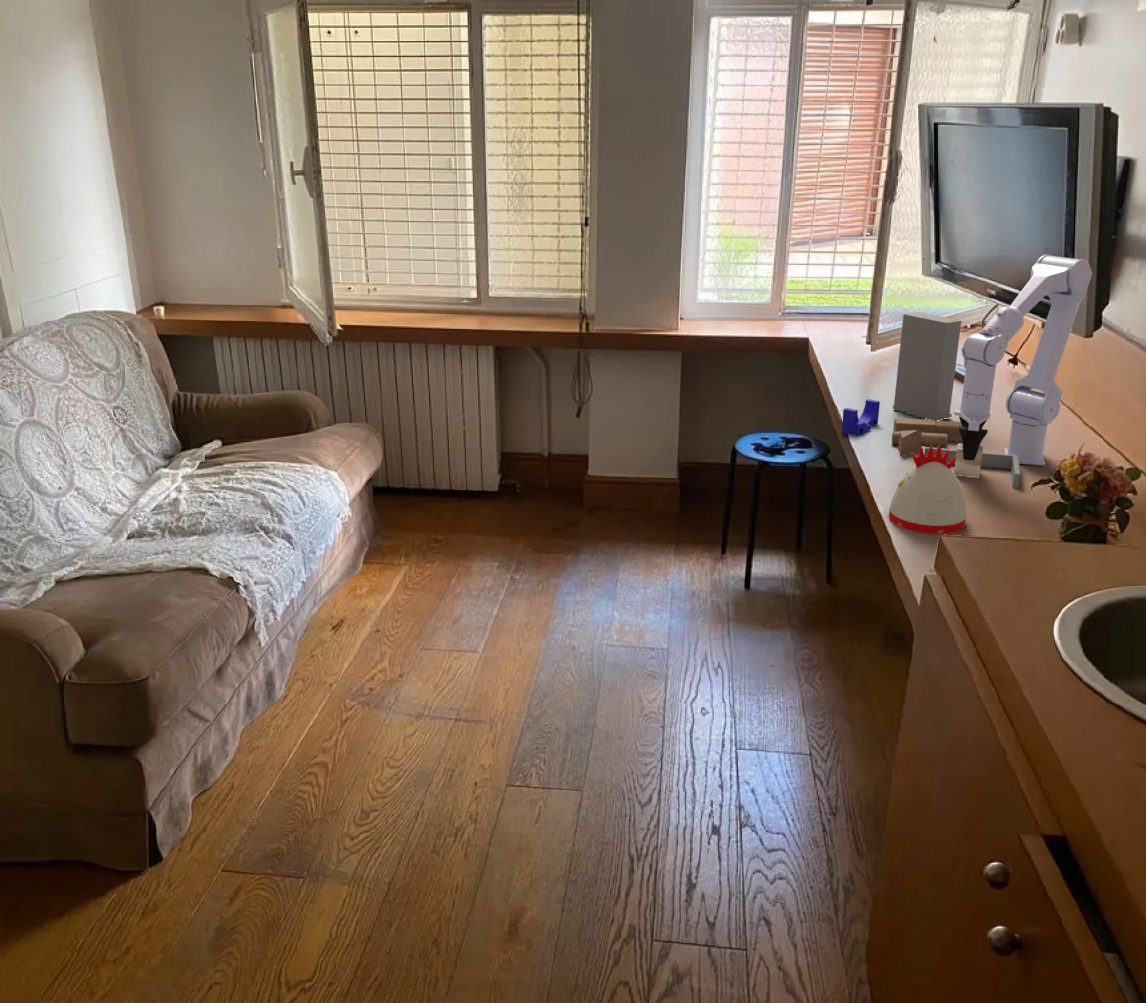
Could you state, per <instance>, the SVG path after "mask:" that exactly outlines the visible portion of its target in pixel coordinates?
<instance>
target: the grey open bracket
mask: <svg viewBox="0 0 1146 1003" xmlns="http://www.w3.org/2000/svg"><path fill="white" fill-rule="evenodd" d="M922 448H923V452H924V456H926V455H927V453H928V450H929V447H922ZM936 450H937V447H933V456H934V455H935V453H936ZM947 450H948V451H949V455H948V457H947V460H946V462H947V463H948V462H950V461H951V460H952V458H953V457H954V456H955V457H956V453H957V449H955V448H954V449H953V448H942V447H941V456H943V455H944V453H945V452H946V451H947ZM955 461H956V460H955ZM953 465H955V462H954V464H953ZM982 467H983V468H984V467H985V468H992V467H995V469H1005V470H1010V474H1011V483H1012V488H1013V489H1015V488H1016V489H1017V488H1019V484H1020V479H1021V478H1020V477H1021V471H1020V470H1021V469H1020V463H1019V462H1018V455H1010V454H1005V453H999V452H987V451H983V453H982V460H981V468H982Z"/></svg>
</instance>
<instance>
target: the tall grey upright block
mask: <svg viewBox="0 0 1146 1003" xmlns="http://www.w3.org/2000/svg"><path fill="white" fill-rule="evenodd" d="M902 315H903V316H902V325H901V334H900V335H901V336H900V346H899V354H898V363H897V364H898V365H897V372H896V382H895V390H894V391H895V392H894V399H893V401H894V402H893V403H894V404H893V405H892V410H893V409H894V410H897V411H896V412H900V411H901V413H903V412H905V414H907V413H909V414H908V415H910V414H912V415H911V416H913V415H916V416H915V417H917V416H919V417H918V418H920V417H923V418H927V419H930V420H935V421H937V420H941V419H944V418H949V417H951V418H952V415H953V414H952V413H951V406H952V397H953V391H954V384H955V375H956V366H957V359H958V350H959V343H960V335H961V334H960V333H961V327H962V320H960V319H953V318H949V317H946V316H945V317H944V316H939V315H936V314H931V313H930V314H929V313H926V312H925V313H924V312H919V311H917V312H916V311H915V312H910V313H903V314H902ZM894 410H893V411H894ZM923 418H922V419H923Z"/></svg>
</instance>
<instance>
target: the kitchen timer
mask: <svg viewBox="0 0 1146 1003" xmlns="http://www.w3.org/2000/svg"><path fill="white" fill-rule="evenodd" d="M933 448H934V447H933V446H932V445H930V447H929V450H928V453H927V455H926V456H924V452H923V448H922V446H921V445H920V447H919V450H918V455H915V454H914V452H912V451H911V453H910V454H911V457H912V459H913V462H914V467H912V468H911V469H909V470H908V471H907V472H906V474H905V475H903V477H902V478H901V480H900V482H898V485H897V488H896V490H895V491H894V493H893V497H892V499H891V501H890V506H889V511H888V518H889V520H890V522H892V523H893V524H894V525H896V526H898V527H900V528H902V529H906V530H909V531H912V532H916V533H922V534H935V535H937V534H938V535H939V534H951V533H955V532H958V531H960V530H962V529H964V527H965V525H966V519H967V505H966V499H965V495H964V490H963V488H962V485H961V483H960V481H959V478H958V476H955V474H954V471H952V468H953V466H954V465H955V464H954V462H955V460H956V457H955V456H954V457H953V458H952V460H951V461H950V462H948V463H947V462H946V460H947V457H948V455H949V451H948V450H947V451H946V452H945V453H944V455H943V456H941V448H942V447H941V446H940V445H938V447H936V448H937V450H936V453H935V455H934V456H933Z"/></svg>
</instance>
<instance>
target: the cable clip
mask: <svg viewBox="0 0 1146 1003" xmlns="http://www.w3.org/2000/svg"><path fill="white" fill-rule="evenodd" d="M880 404H881V401H880V400H876V399H871V398H869V399H865V404H864V407H863V410H862V413H861V415H860V417H859V415H858V412H859V411H858V409H854V408H849V407H845V408H843V410H842V420H841V421H842V424H841V433H844V434H849V435H852V436H857V437H858V436H860V435H863V433H864V434H866V433H867V431H868V432H870V431H869V430H871V431H872V427H873V426H872V425H874V424H877V425H878V424H879V415H880V414H879V413H880ZM871 426H872V427H871ZM874 426H875V425H874ZM865 432H866V433H865Z"/></svg>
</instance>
